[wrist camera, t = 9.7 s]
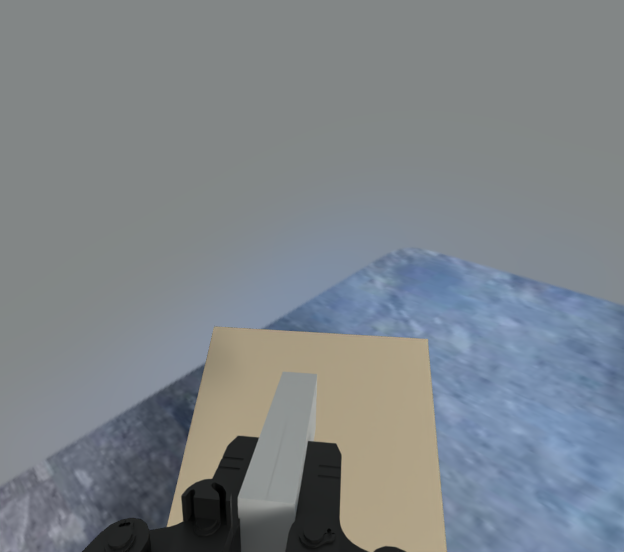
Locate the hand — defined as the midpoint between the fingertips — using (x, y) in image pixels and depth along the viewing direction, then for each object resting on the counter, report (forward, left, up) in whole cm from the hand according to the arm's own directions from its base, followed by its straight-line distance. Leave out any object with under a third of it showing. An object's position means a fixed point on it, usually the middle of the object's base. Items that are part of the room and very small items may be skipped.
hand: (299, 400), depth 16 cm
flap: (0, +6, -7) cm, 9 cm away
